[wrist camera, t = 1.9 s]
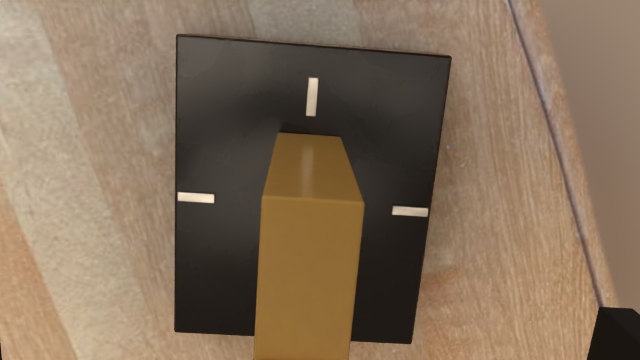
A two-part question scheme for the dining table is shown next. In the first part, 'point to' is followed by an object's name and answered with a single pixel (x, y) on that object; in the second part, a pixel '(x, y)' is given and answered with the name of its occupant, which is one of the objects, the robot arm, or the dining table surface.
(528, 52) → the dining table surface
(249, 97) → the plate
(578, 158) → the dining table surface
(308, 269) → the lock turn
